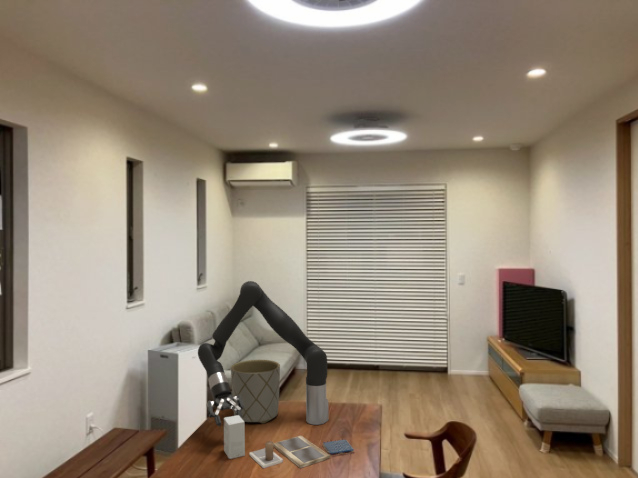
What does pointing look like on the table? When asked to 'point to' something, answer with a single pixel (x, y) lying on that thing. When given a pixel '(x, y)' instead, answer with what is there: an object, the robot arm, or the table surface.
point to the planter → (257, 389)
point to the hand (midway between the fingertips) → (230, 423)
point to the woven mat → (338, 447)
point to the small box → (234, 436)
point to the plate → (266, 456)
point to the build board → (301, 451)
